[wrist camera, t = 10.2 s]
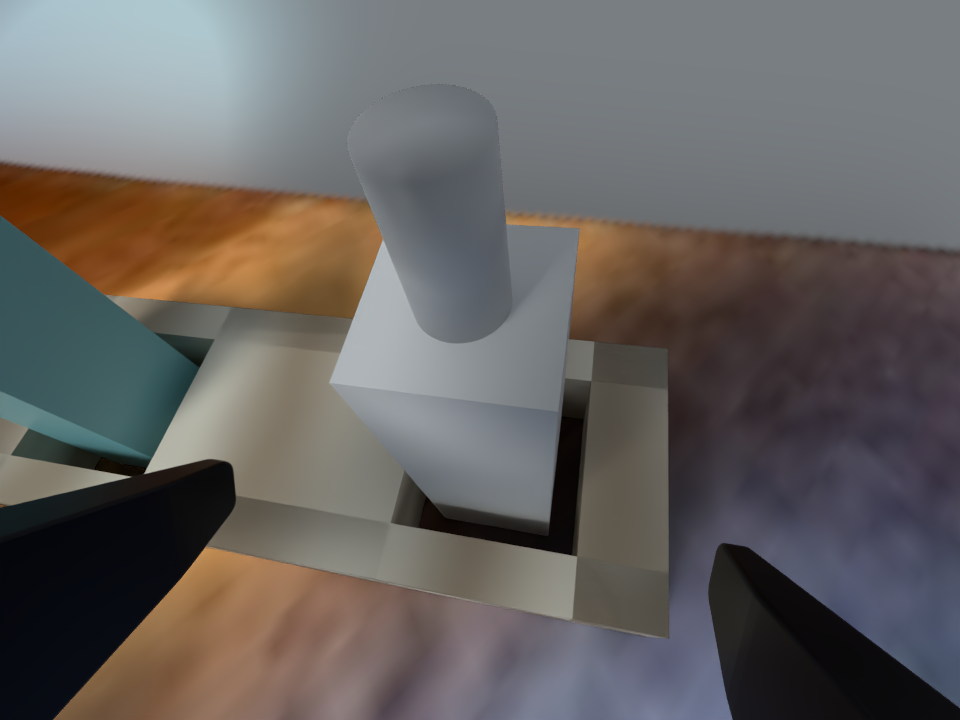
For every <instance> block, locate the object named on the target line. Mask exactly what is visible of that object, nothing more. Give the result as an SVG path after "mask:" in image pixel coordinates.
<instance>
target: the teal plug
mask: <svg viewBox="0 0 960 720" xmlns="http://www.w3.org/2000/svg"><path fill="white" fill-rule="evenodd" d="M198 370H199V367H198V366H196V365H195V364H194V363H193V362H191V361H190V360H189V359H187V358H186V357H185V356H183V355H182V354H181V353H179V352H178V351H177V350H176V349H174V348H173V347H172V346H170V345H169V344H168V343H166V342H165V341H164V340H162V339H161V338H160V337H159V336H157V335H156V334H155V333H153V332H152V331H151V330H149V329H148V328H147V327H145V326H144V325H143V324H142V323H140V322H139V321H138V320H136V319H135V318H134V317H132V316H131V315H130V314H128V313H127V312H126V311H125V310H123V309H122V308H121V307H119V306H118V305H117V304H115V303H114V302H113V301H111V300H110V299H109V298H107V297H106V296H105V295H104V294H102V293H101V292H100V291H98V290H97V289H96V288H94V287H93V286H92V285H90V284H89V283H88V282H87V281H85V280H84V279H83V278H81V277H80V276H79V275H77V274H76V273H75V272H73V271H72V270H71V269H70V268H68V267H67V266H66V265H64V264H63V263H62V262H60V261H59V260H58V259H56V258H55V257H54V256H53V255H51V254H50V253H49V252H47V251H46V250H45V249H43V248H42V247H41V246H39V245H38V244H37V243H36V242H34V241H33V240H32V239H30V238H29V237H28V236H26V235H25V234H24V233H22V232H21V231H20V230H19V229H17V228H16V227H15V226H13V225H12V224H11V223H9V222H8V221H7V220H5V219H4V218H3V217H2V216H0V417H1V418H3V419H6V420H8V421H11V422H13V423H16V424H19V425H21V426H24V427H26V428H29V429H31V430H34V431H36V432H39V433H42V434H44V435H47V436H49V437H52V438H54V439H57V440H60V441H62V442H65V443H67V444H70V445H72V446H75V447H77V448H80V449H83V450H85V451H88V452H90V453H93V454H95V455H98V456H100V457H103V458H106V459H108V460H111V461H113V462H116V463H120V464H126V465H131V466H137V467H143V468H147V467H148V465H149V464H150V462H151V460H152V458H153V456H154V454H155V452H156V450H157V448H158V446H159V445H160V443H161V441H162V439H163V437H164V435H165V433H166V431H167V429H168V427H169V426H170V424H171V422H172V420H173V418H174V416H175V414H176V412H177V410H178V408H179V407H180V405H181V403H182V401H183V399H184V397H185V395H186V393H187V391H188V389H189V387H190V386H191V384H192V382H193V380H194V378H195V376H196V374H197V372H198Z"/></svg>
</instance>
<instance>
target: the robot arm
mask: <svg viewBox="0 0 960 720" xmlns="http://www.w3.org/2000/svg"><path fill="white" fill-rule="evenodd" d="M235 504H236V490H235V480H234V470H233V467H232V465H231V463H229V462H227V461H223V460H217V459H206V460H201V461H197V462H193V463H189V464H185V465H180V466H176V467H172V468H168V469H163V470H159V471H155V472H151V473H146V474H142V475H138V476H134V477H129V478H125V479H121V480H117V481H112V482H108V483H104V484H100V485H95V486H91V487H87V488H83V489H78V490H74V491H70V492H66V493H61V494H57V495H53V496H49V497H44V498H40V499H36V500H32V501H27V502H23V503H19V504H15V505H10V506H6V507H2V508H0V720H53V719H54V718H55V717H56V716H57V715H58V714H59V713H60V711H61V710H62V709H63V708H64V707H65V706H66V705H67V704H68V703H69V702H70V700H71V699H72V698H73V697H74V696H75V695H76V694H77V693H78V692H79V691H80V689H81V688H82V687H83V686H84V685H85V684H86V683H87V682H88V681H89V679H90V678H91V677H92V676H93V675H94V674H95V673H96V672H97V671H98V670H99V668H100V667H101V666H102V665H103V664H104V663H105V662H106V661H107V660H108V659H109V657H110V656H111V655H112V654H113V653H114V652H115V651H116V650H117V649H118V648H119V646H120V645H121V644H122V643H123V642H124V641H125V640H126V639H127V638H128V637H129V635H130V634H131V633H132V632H133V631H134V630H135V629H136V628H137V627H138V625H139V624H140V623H141V622H142V621H143V620H144V619H145V618H146V617H147V616H148V614H149V613H150V612H151V611H152V610H153V609H154V608H155V607H156V606H157V605H158V603H159V602H160V601H161V600H162V599H163V598H164V597H165V596H166V595H167V594H168V592H169V591H170V590H171V589H172V588H173V587H174V586H175V585H176V583H177V582H178V581H179V580H180V579H181V578H182V576H183V575H184V574H185V573H186V571H187V570H188V569H189V568H190V566H191V565H192V564H193V562H194V561H195V560H196V559H197V557H198V556H199V555H200V553H201V552H202V551H203V549H204V548H205V547H206V545H207V544H208V543H209V542H210V540H211V539H212V538H213V536H214V535H215V534H216V532H217V531H218V530H219V528H220V527H221V526H222V525H223V523H224V522H225V521H226V519H227V518H228V517H229V515H230V514H231V513H232V511H233V509H234V507H235ZM708 595H709V604H710V609H711V615H712V620H713V626H714V631H715V637H716V642H717V648H718V654H719V659H720V665H721V670H722V676H723V681H724V686H725V691H726V696H727V700H728V704H729V708H730V711H731V715H732V719H733V720H960V708H959V707H958V706H956V705H955V704H954V703H952V702H951V701H950V700H948V699H947V698H946V697H945V696H943V695H942V694H941V693H939V692H938V691H937V690H935V689H934V688H933V687H931V686H930V685H929V684H927V683H926V682H925V681H923V680H922V679H921V678H920V677H918V676H917V675H916V674H914V673H913V672H912V671H910V670H909V669H908V668H906V667H905V666H904V665H902V664H901V663H900V662H898V661H897V660H896V659H895V658H893V657H892V656H891V655H889V654H888V653H887V652H885V651H884V650H883V649H881V648H880V647H879V646H877V645H876V644H875V643H873V642H872V641H871V640H869V639H868V638H867V637H866V636H864V635H863V634H862V633H860V632H859V631H858V630H856V629H855V628H854V627H852V626H851V625H850V624H848V623H847V622H846V621H844V620H843V619H842V618H841V617H839V616H838V615H837V614H835V613H834V612H833V611H831V610H830V609H829V608H827V607H826V606H825V605H823V604H822V603H821V602H819V601H818V600H817V599H815V598H814V597H813V596H812V595H810V594H809V593H808V592H806V591H805V590H804V589H802V588H801V587H800V586H798V585H797V584H796V583H794V582H793V581H792V580H790V579H789V578H788V577H787V576H785V575H784V574H783V573H781V572H780V571H779V570H777V569H776V568H775V567H773V566H772V565H771V564H769V563H768V562H767V561H765V560H764V559H763V558H762V557H760V556H759V555H758V554H756V553H755V552H754V551H752V550H751V549H750V548H748V547H745V546H739V545H733V544H727V543H722V544H720V545H719V547H718V548H717V551H716V555H715V560H714V564H713V569H712V573H711V578H710V582H709V590H708Z"/></svg>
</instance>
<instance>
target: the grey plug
mask: <svg viewBox="0 0 960 720" xmlns="http://www.w3.org/2000/svg"><path fill="white" fill-rule="evenodd" d="M347 149H348V153H349V156H350V158H351V161H352V163H353V166H354V168H355V171H356V173H357V176H358V178H359V181H360V183H361V186H362V188H363V190H364V193H365V195H366V198H367V200H368V203H369V205H370V208H371V210H372V213H373V215H374V218H375V220H376V223H377V225H378V228H379V230H380V233H381V235H382V237H383V241H382V244H381V247H380V249H379V252H378V254H377V257H376V260H375V262H374V265H373V268H372V270H371V273H370V276H369V278H368V281H367V284H366V286H365V289H364V292H363V294H362V297H361V300H360V302H359V305H358V308H357V310H356V313H355V316H354V318H353V321H352V324H351V326H350V329H349V332H348V334H347V337H346V340H345V342H344V345H343V347H342V350H341V353H340V355H339V358H338V361H337V363H336V366H335V369H334V371H333V374H332V377H331V379H330V382H329V383H330V384H331V385H332V387H333V388H334V389H335V390H336V391H337V392H338V394H339V395H340V396H341V397H342V398H343V399H344V401H345V402H346V403H347V404H348V405H349V406H350V408H351V409H352V410H353V411H354V412H355V413H356V415H357V416H358V417H359V418H360V419H361V420H362V421H363V423H364V424H365V425H366V426H367V427H368V428H369V430H370V431H371V432H372V433H373V434H374V435H375V437H376V438H377V439H378V440H379V441H380V442H381V444H382V445H383V446H384V447H385V448H386V449H387V451H388V452H389V453H390V454H391V455H392V456H393V458H394V459H395V460H396V461H397V462H398V463H399V464H400V466H401V467H402V468H403V469H404V470H405V471H406V473H407V474H408V475H409V476H410V477H411V478H412V480H413V481H414V482H415V483H416V484H417V485H418V487H419V488H420V489H421V490H422V491H423V492H424V494H425V495H426V496H427V497H428V498H429V499H430V501H431V502H432V503H433V504H434V505H435V506H436V507H437V509H438V510H439V511H440V512H441V513H442V514H443V516H444V517H445V518H448V519H454V520H460V521H465V522H471V523H477V524H482V525H488V526H494V527H499V528H505V529H511V530H516V531H522V532H528V533H533V534H539V535H545V536H548V534H549V525H550V516H551V507H552V498H553V489H554V480H555V471H556V463H557V454H558V445H559V436H560V426H561V415H562V405H563V395H564V384H565V374H566V364H567V354H568V343H569V333H570V323H571V312H572V302H573V292H574V281H575V271H576V261H577V251H578V240H579V230H580V229H579V228H560V227H542V226H524V225H506V216H505V205H504V194H503V181H502V170H501V158H500V146H499V135H498V123H497V116H496V113H495V110H494V108H493V106H492V105H491V104H490V103H489V101H488V100H487V99H485V98H484V97H483V96H482V95H480V94H478V93H477V92H474V91H472V90H469V89H467V88H464V87H460V86H455V85H444V84H435V85H423V86H416V87H411V88H408V89H404V90H401V91H398V92H395V93H393V94H390V95H388V96H386V97H384V98H382V99H381V100H379V101H377V102H375V103H374V104H372V105H371V106H370V107H368V108H367V109H366V110H365V111H364V112H363V113H362V114H361V115H360V116H359V117H358V118H357V119H356V121H355V122H354V123H353V125H352V127H351V129H350V131H349V134H348V139H347Z"/></svg>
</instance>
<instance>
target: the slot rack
mask: <svg viewBox="0 0 960 720" xmlns="http://www.w3.org/2000/svg"><path fill="white" fill-rule="evenodd" d="M105 296H106V297H107V298H109V299H110V300H111V301H113V302H114V303H115V304H117V305H118V306H119V307H121V308H122V309H123V310H125V311H126V312H127V313H128V314H130V315H131V316H132V317H134V318H135V319H136V320H138V321H139V322H140V323H142V324H143V325H144V326H145V327H147V328H148V329H149V330H151V331H152V332H153V333H155V334H156V335H157V336H159V337H160V338H161V339H162V340H164V341H165V342H166V343H168V344H169V345H170V346H172V347H173V348H174V349H176V350H177V351H178V352H179V353H181V354H182V355H183V356H185V357H186V358H187V359H189V360H190V361H191V362H193V363H194V364H195V365H196V366H198V367H199V370H198V372H197V374H196V376H195V378H194V380H193V382H192V384H191V386H190V387H189V389H188V391H187V393H186V395H185V397H184V399H183V401H182V403H181V405H180V407H179V408H178V410H177V412H176V414H175V416H174V418H173V420H172V422H171V424H170V426H169V427H168V429H167V431H166V433H165V435H164V437H163V439H162V441H161V443H160V445H159V446H158V448H157V450H156V452H155V454H154V456H153V458H152V460H151V462H150V464H149V465H148V467H147V469H146V471H145V473H144V474H146V473H151V472H155V471H159V470H163V469H168V468H172V467H176V466H180V465H185V464H189V463H193V462H197V461H201V460H206V459H217V460H223V461H227V462H229V463H231V465H232V467H233V470H234V480H235V490H236V504H235V507H234V509H233V511H232V513H231V514H230V515H229V517H228V518H227V519H226V521H225V522H224V523H223V525H222V526H221V527H220V528H219V530H218V531H217V532H216V534H215V535H214V536H213V538H212V539H211V540H210V542H209V543H208V544H207V545H206V547H208V548H213V549H218V550H223V551H228V552H233V553H238V554H243V555H248V556H253V557H257V558H262V559H267V560H272V561H277V562H282V563H287V564H292V565H297V566H301V567H306V568H311V569H316V570H321V571H326V572H331V573H336V574H341V575H345V576H350V577H355V578H360V579H365V580H370V581H375V582H380V583H385V584H389V585H394V586H399V587H404V588H409V589H414V590H419V591H424V592H429V593H434V594H438V595H443V596H448V597H453V598H458V599H463V600H468V601H473V602H478V603H482V604H487V605H492V606H497V607H502V608H507V609H512V610H517V611H522V612H526V613H531V614H536V615H541V616H546V617H551V618H556V619H561V620H566V621H570V622H575V623H580V624H585V625H590V626H595V627H600V628H605V629H610V630H614V631H619V632H624V633H629V634H634V635H639V636H644V637H656V638H669V493H668V349H666V348H656V347H645V346H635V345H624V344H614V343H603V342H593V341H582V340H572V339H569V343H568V354H567V364H566V374H565V384H564V395H563V405H562V415H561V416H563V417H571V418H579V419H583V431H582V443H581V454H580V466H579V478H578V489H577V501H576V513H575V525H574V536H573V548H572V556H571V555H566V554H560V553H554V552H549V551H543V550H538V549H532V548H527V547H521V546H515V545H510V544H504V543H499V542H493V541H487V540H482V539H476V538H471V537H465V536H459V535H454V534H448V533H443V532H437V531H431V530H426V529H420V528H419V524H420V520H421V516H422V512H423V507H424V503H425V499H426V495H425V494H424V492H423V491H422V490H421V489H420V488H419V487H418V485H417V484H416V483H415V482H414V481H413V480H412V478H411V477H410V476H409V475H408V474H407V473H406V471H405V470H404V469H403V468H402V467H401V466H400V464H399V463H398V462H397V461H396V460H395V459H394V458H393V456H392V455H391V454H390V453H389V452H388V451H387V449H386V448H385V447H384V446H383V445H382V444H381V442H380V441H379V440H378V439H377V438H376V437H375V435H374V434H373V433H372V432H371V431H370V430H369V428H368V427H367V426H366V425H365V424H364V423H363V421H362V420H361V419H360V418H359V417H358V416H357V415H356V413H355V412H354V411H353V410H352V409H351V408H350V406H349V405H348V404H347V403H346V402H345V401H344V399H343V398H342V397H341V396H340V395H339V394H338V392H337V391H336V390H335V389H334V388H333V387H332V385H331V384H330V383H329V382H330V379H331V377H332V374H333V371H334V369H335V366H336V363H337V361H338V358H339V355H340V353H341V350H342V347H343V345H344V342H345V340H346V337H347V334H348V332H349V329H350V326H351V324H352V321H353V319H352V318H342V317H331V316H321V315H310V314H300V313H289V312H279V311H268V310H258V309H247V308H237V307H226V306H216V305H206V304H195V303H185V302H174V301H164V300H153V299H143V298H132V297H122V296H111V295H105ZM100 458H101V457H100V456H98V455H95V454H93V453H90V452H88V451H85V450H83V449H80V448H77V447H75V446H72V445H70V444H67V443H65V442H62V441H60V440H57V439H54V438H52V437H49V436H47V435H44V434H42V433H39V432H36V431H34V430H31V429H29V428H26V427H24V426H21V425H19V424H16V423H13V422H11V421H8V420H6V419H3V418H1V417H0V505H5V506H10V505H15V504H19V503H23V502H27V501H32V500H36V499H40V498H44V497H49V496H53V495H57V494H61V493H66V492H70V491H74V490H78V489H83V488H87V487H91V486H95V485H100V484H104V483H108V482H112V481H117V480H121V479H125V478H129V477H130V476H124V475H118V474H113V473H107V472H102V471H96V470H94V469H95V467H96V465H97V463H98V462H99V460H100Z"/></svg>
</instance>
